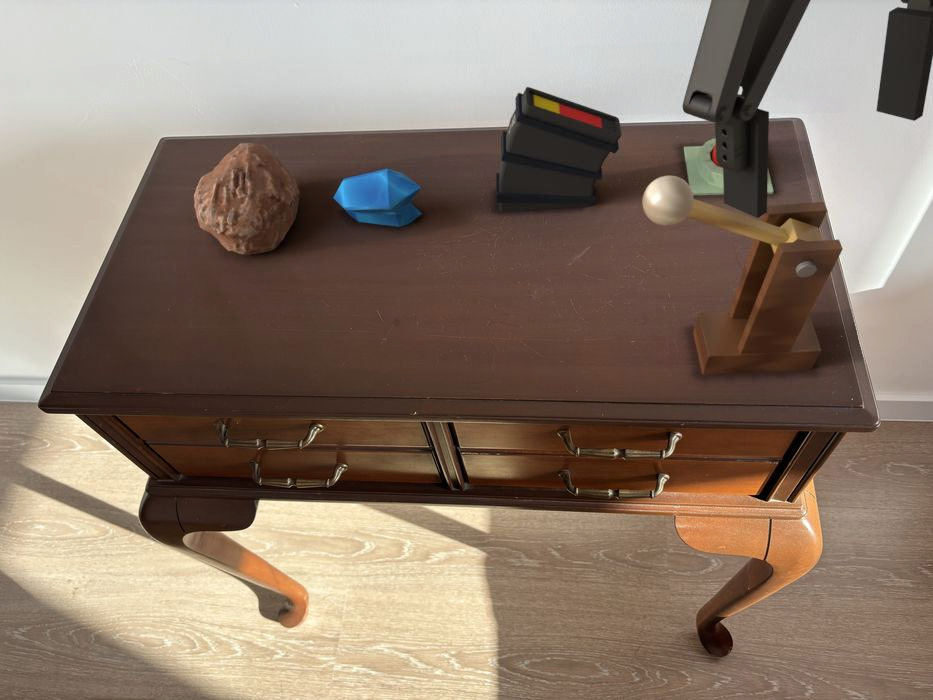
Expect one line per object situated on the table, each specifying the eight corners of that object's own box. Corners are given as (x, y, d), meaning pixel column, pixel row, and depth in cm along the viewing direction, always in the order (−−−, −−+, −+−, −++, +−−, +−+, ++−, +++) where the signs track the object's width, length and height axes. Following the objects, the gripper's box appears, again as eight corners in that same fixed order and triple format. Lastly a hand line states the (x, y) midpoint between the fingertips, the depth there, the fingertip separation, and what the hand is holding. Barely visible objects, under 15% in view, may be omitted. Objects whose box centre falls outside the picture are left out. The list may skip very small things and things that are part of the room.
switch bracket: (701, 383, 66) (744, 259, 52) (690, 332, 70) (728, 202, 55) (809, 378, 66) (884, 251, 51) (793, 327, 69) (859, 194, 54)
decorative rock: (258, 181, 89) (229, 116, 81) (330, 204, 85) (306, 138, 77) (193, 252, 83) (154, 190, 75) (267, 280, 79) (234, 218, 71)
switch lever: (636, 228, 51) (665, 194, 48) (630, 193, 53) (657, 159, 50) (799, 278, 55) (834, 249, 52) (788, 244, 57) (821, 215, 54)
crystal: (328, 153, 80) (422, 139, 76) (361, 207, 87) (449, 197, 82) (308, 198, 76) (405, 186, 72) (343, 251, 83) (435, 243, 78)
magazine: (471, 186, 82) (522, 82, 71) (571, 216, 86) (635, 121, 74) (470, 209, 80) (523, 106, 68) (573, 238, 84) (640, 144, 72)
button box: (759, 152, 83) (766, 131, 81) (771, 199, 79) (778, 179, 76) (682, 154, 84) (686, 134, 82) (689, 200, 80) (693, 181, 77)
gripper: (965, -332, 36) (905, 67, 50) (582, -169, 31) (633, 228, 44) (1136, -372, 31) (1016, 89, 44) (706, -182, 25) (721, 276, 39)
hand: (824, 159), depth 44 cm, fingers open, 13 cm apart
